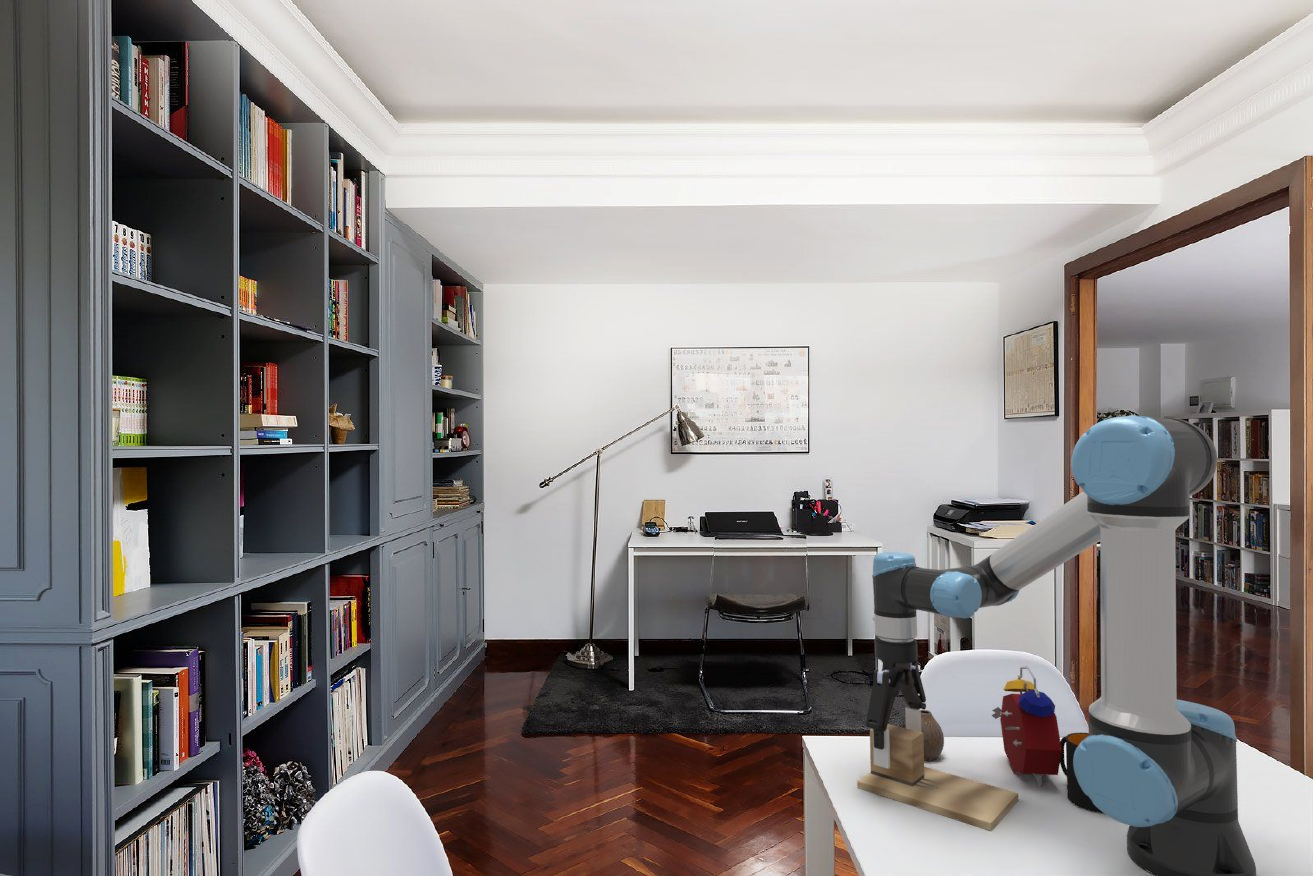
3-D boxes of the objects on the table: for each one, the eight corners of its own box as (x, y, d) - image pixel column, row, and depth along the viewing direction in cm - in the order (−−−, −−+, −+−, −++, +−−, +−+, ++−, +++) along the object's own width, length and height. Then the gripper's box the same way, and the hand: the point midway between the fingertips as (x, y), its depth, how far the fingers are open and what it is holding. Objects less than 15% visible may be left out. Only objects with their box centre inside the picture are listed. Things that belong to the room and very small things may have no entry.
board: (1018, 800, 125) (1018, 793, 125) (991, 831, 115) (991, 823, 115) (891, 763, 141) (891, 757, 141) (857, 787, 131) (857, 781, 131)
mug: (1080, 780, 133) (1079, 723, 133) (1135, 811, 121) (1134, 748, 121) (1041, 784, 131) (1039, 727, 132) (1093, 816, 119) (1091, 752, 120)
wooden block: (924, 777, 132) (923, 732, 132) (912, 786, 128) (911, 740, 128) (883, 765, 137) (882, 722, 138) (870, 773, 134) (869, 729, 134)
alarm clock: (1064, 793, 128) (1061, 678, 128) (1012, 790, 129) (1009, 677, 130) (1034, 759, 142) (1031, 656, 143) (987, 756, 144) (985, 655, 144)
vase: (908, 761, 142) (907, 716, 142) (906, 747, 149) (905, 704, 149) (945, 765, 140) (944, 719, 140) (942, 751, 147) (941, 707, 147)
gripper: (904, 623, 145) (907, 730, 144) (844, 647, 127) (846, 770, 126) (942, 628, 140) (945, 740, 139) (884, 654, 122) (887, 782, 121)
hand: (898, 754), depth 133 cm, fingers open, 13 cm apart
